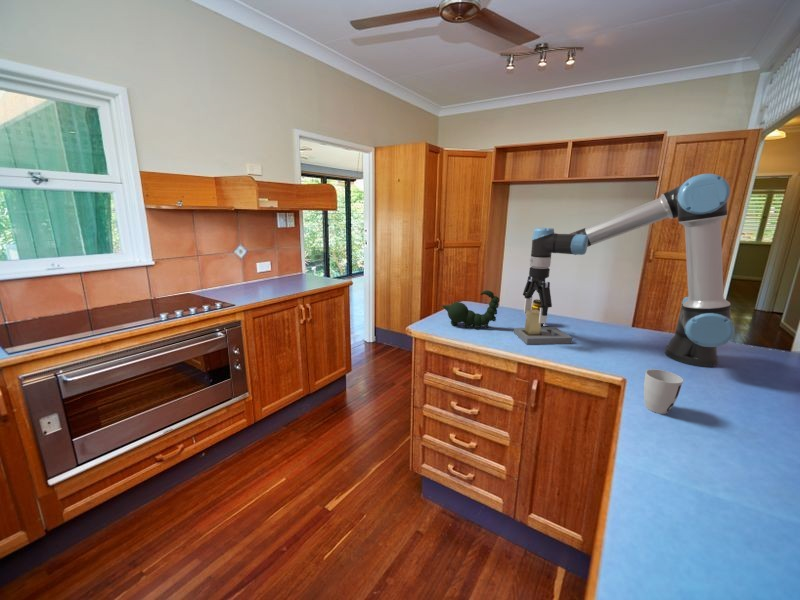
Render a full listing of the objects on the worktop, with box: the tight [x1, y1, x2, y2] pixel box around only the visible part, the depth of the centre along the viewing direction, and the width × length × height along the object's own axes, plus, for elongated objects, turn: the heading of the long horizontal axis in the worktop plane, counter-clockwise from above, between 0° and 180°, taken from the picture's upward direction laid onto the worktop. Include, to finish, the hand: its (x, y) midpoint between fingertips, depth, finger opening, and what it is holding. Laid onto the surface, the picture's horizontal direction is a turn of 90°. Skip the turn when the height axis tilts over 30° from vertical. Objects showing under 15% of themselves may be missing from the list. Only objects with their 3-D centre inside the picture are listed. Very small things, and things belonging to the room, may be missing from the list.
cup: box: [643, 368, 684, 415], centre depth 94 cm, size 8×8×10 cm
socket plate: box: [513, 326, 573, 345], centre depth 147 cm, size 13×19×2 cm
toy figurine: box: [441, 290, 500, 330], centre depth 158 cm, size 9×19×25 cm
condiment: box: [531, 298, 551, 327], centre depth 162 cm, size 7×8×12 cm
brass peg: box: [524, 310, 541, 336], centre depth 145 cm, size 4×4×12 cm
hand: (534, 317), depth 144 cm, fingers open, 13 cm apart
